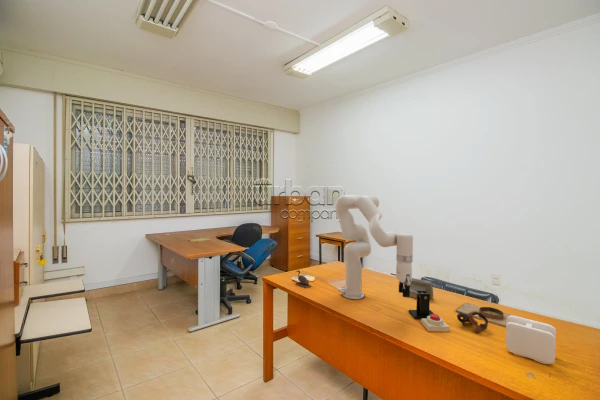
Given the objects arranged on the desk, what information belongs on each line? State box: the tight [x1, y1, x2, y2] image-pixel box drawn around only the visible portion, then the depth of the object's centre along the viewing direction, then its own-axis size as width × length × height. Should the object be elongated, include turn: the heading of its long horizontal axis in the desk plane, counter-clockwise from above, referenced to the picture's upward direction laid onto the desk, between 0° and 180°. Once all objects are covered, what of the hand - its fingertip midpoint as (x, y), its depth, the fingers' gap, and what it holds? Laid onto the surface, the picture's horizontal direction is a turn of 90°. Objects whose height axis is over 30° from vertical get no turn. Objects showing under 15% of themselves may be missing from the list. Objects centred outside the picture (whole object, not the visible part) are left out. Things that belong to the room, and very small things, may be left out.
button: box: [431, 313, 440, 321], centre depth 128 cm, size 4×4×2 cm
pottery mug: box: [456, 311, 489, 333], centre depth 127 cm, size 12×9×8 cm
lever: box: [401, 286, 422, 297], centre depth 140 cm, size 12×5×2 cm, turn 89°
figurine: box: [295, 270, 312, 289], centre depth 186 cm, size 14×4×9 cm, turn 38°
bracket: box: [408, 290, 435, 320], centre depth 140 cm, size 11×8×12 cm
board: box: [455, 302, 512, 328], centre depth 140 cm, size 25×15×3 cm, turn 41°
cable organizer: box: [504, 314, 557, 365], centre depth 107 cm, size 15×11×12 cm
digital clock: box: [405, 277, 434, 299], centre depth 165 cm, size 16×9×11 cm, turn 39°
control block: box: [420, 315, 450, 333], centre depth 128 cm, size 9×8×4 cm
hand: (404, 294), depth 140 cm, fingers closed on lever, 5 cm apart
